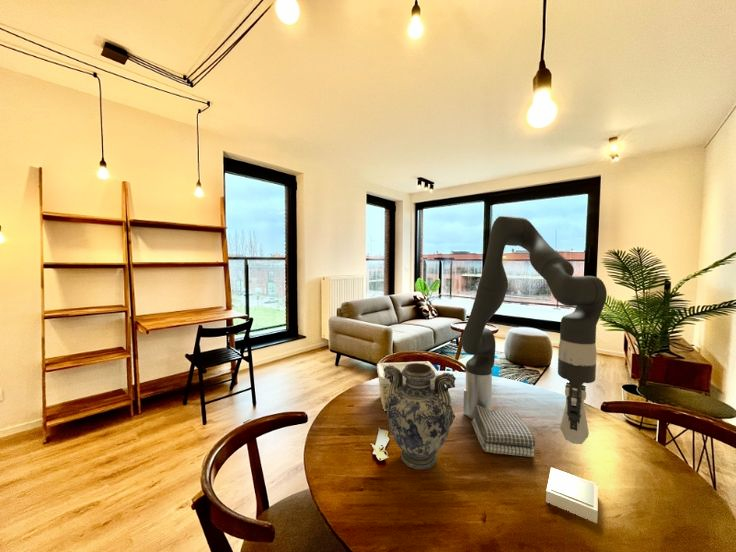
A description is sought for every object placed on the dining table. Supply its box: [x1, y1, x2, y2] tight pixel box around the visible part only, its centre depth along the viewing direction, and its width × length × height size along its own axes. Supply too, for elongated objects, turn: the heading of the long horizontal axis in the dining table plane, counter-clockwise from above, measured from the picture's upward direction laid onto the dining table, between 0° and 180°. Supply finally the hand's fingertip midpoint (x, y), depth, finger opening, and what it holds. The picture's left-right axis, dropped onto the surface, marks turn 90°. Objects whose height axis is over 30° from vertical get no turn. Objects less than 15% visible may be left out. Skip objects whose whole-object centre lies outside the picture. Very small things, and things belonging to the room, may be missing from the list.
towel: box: [471, 405, 536, 458], centre depth 99 cm, size 15×18×8 cm
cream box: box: [376, 360, 440, 412], centre depth 124 cm, size 24×16×15 cm
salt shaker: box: [560, 391, 590, 445], centre depth 73 cm, size 6×6×13 cm
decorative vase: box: [384, 363, 456, 471], centre depth 90 cm, size 21×19×28 cm
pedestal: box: [545, 467, 599, 524], centre depth 75 cm, size 10×10×3 cm
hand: (574, 427), depth 74 cm, fingers closed on salt shaker, 3 cm apart
